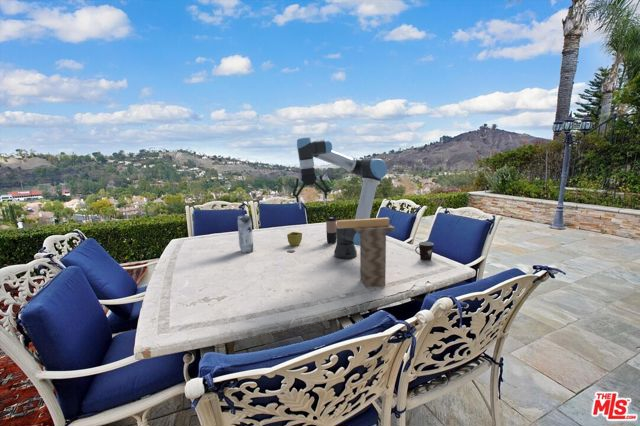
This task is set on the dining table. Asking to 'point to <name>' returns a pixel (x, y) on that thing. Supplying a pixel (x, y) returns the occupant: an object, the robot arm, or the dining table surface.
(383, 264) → the walnut stand
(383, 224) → the brown block
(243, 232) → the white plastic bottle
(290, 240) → the flower pot
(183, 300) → the dining table surface
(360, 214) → the robot arm
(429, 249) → the coffee mug
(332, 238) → the travel mug
